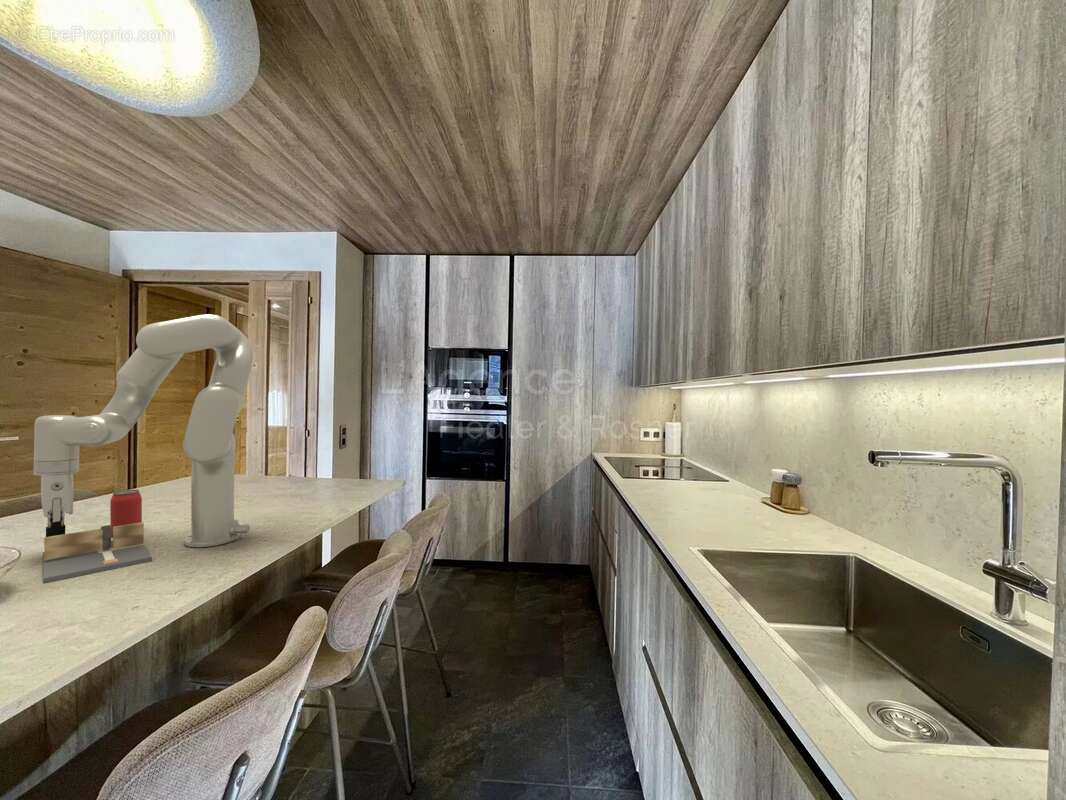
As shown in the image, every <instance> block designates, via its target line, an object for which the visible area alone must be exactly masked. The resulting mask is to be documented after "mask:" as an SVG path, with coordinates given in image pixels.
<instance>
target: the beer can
mask: <svg viewBox="0 0 1066 800" xmlns="http://www.w3.org/2000/svg"><path fill="white" fill-rule="evenodd" d="M109 503H110V507H109V508H110V512H109V513H110V514H109V515H110V518H109V519H110V522H109V523H110V525H111V537H113V527H114V526H121V525H127V524H134V523H140V522H143V498H142V495H141V493H140V490H139V489H124V490H117V491H113V492H112V496H111V498H110V502H109Z"/></svg>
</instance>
